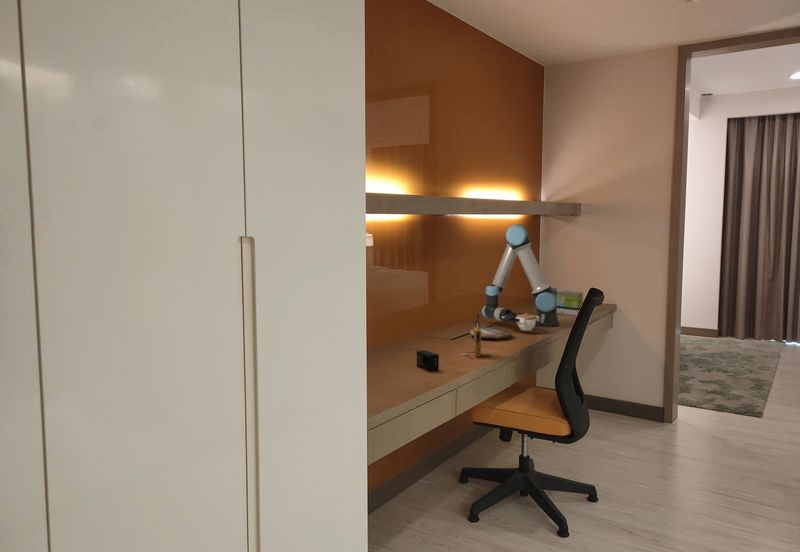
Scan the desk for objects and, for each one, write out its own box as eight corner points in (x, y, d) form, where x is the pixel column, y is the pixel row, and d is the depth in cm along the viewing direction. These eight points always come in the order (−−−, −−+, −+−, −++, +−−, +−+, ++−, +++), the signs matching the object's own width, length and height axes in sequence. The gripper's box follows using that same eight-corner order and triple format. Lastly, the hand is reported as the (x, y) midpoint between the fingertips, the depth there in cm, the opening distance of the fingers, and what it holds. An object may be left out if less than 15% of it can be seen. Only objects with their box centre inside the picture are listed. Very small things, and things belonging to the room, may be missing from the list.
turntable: (491, 328, 349) (491, 325, 349) (519, 335, 331) (519, 331, 331) (461, 332, 337) (461, 329, 336) (489, 339, 319) (489, 336, 319)
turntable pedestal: (490, 334, 341) (490, 332, 341) (503, 337, 333) (503, 335, 333) (477, 336, 335) (477, 334, 335) (489, 339, 327) (489, 337, 327)
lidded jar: (536, 331, 338) (536, 314, 337) (516, 331, 340) (516, 314, 339) (535, 328, 349) (536, 311, 348) (516, 327, 351) (516, 311, 350)
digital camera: (414, 366, 270) (414, 351, 270) (423, 365, 274) (424, 349, 273) (428, 371, 262) (428, 355, 261) (438, 370, 265) (438, 354, 264)
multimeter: (458, 352, 299) (458, 311, 297) (478, 352, 298) (479, 311, 296) (460, 359, 284) (460, 316, 282) (481, 359, 284) (482, 317, 282)
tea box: (555, 313, 414) (556, 291, 412) (560, 311, 422) (561, 290, 420) (577, 315, 405) (578, 293, 404) (582, 313, 413) (583, 292, 412)
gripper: (517, 318, 365) (545, 324, 348) (489, 323, 352) (516, 328, 334) (517, 306, 365) (546, 311, 347) (489, 310, 351) (517, 315, 334)
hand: (531, 319), depth 341 cm, fingers closed on lidded jar, 11 cm apart
